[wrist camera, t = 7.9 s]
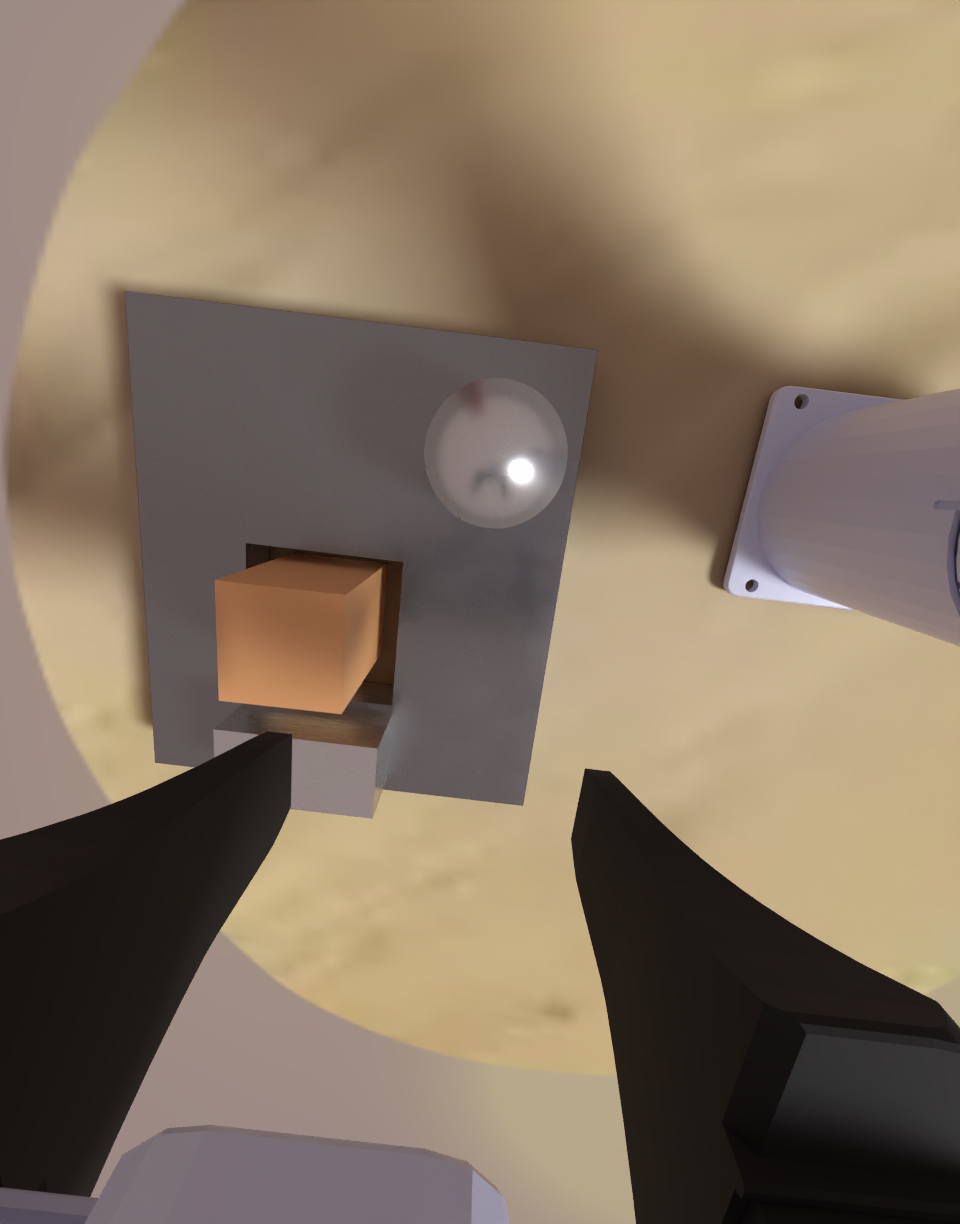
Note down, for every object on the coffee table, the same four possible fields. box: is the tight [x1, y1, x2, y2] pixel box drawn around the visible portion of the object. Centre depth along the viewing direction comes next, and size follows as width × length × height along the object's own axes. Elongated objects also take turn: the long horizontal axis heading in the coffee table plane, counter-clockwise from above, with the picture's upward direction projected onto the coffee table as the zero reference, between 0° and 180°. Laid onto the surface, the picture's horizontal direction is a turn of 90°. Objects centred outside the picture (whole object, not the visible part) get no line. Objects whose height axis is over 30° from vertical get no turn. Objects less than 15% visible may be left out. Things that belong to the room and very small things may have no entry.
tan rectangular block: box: [215, 553, 387, 714], centre depth 18 cm, size 4×4×6 cm
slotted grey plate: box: [125, 291, 598, 819], centre depth 18 cm, size 16×18×6 cm
